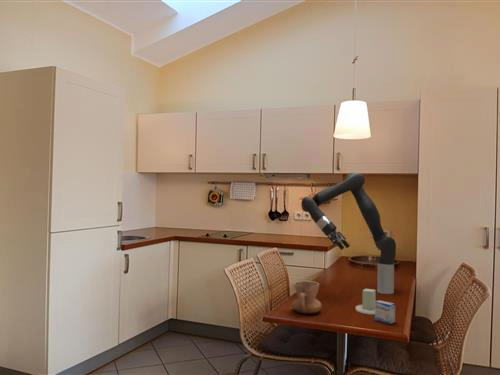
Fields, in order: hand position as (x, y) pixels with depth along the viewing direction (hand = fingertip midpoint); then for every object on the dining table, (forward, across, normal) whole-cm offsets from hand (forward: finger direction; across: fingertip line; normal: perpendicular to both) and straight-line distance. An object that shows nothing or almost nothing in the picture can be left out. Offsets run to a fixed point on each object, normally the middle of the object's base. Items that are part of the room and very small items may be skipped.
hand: (345, 247), depth 226 cm
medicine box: (+40, -24, +1) cm, 47 cm away
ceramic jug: (+14, -32, +26) cm, 44 cm away
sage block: (+31, -12, +8) cm, 34 cm away
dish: (+32, -12, +8) cm, 35 cm away
